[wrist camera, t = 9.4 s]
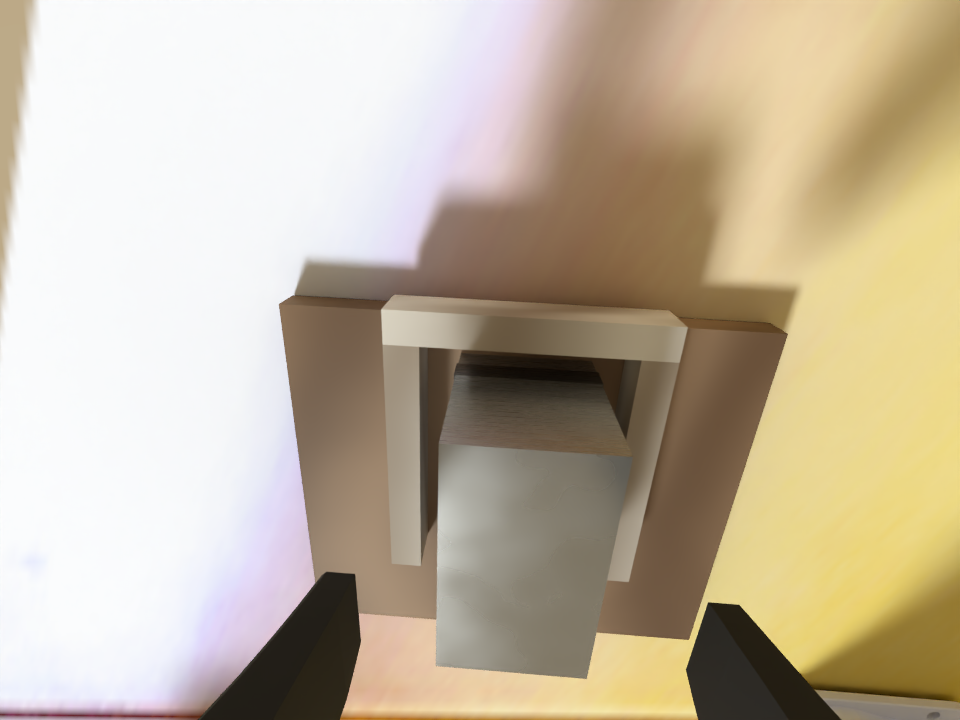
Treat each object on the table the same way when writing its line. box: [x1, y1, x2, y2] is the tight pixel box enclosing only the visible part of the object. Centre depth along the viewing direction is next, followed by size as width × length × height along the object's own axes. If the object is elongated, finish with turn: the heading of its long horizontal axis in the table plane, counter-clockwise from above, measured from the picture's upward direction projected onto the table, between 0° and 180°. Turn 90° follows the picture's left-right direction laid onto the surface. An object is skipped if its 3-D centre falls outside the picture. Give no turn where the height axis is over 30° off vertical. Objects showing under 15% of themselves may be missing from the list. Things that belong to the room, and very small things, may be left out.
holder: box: [279, 295, 788, 640], centre depth 16 cm, size 15×14×2 cm
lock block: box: [436, 353, 633, 679], centre depth 13 cm, size 4×7×5 cm, turn 177°
